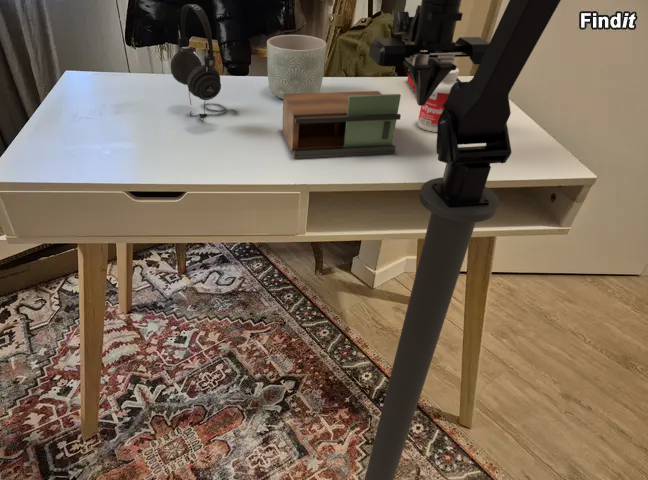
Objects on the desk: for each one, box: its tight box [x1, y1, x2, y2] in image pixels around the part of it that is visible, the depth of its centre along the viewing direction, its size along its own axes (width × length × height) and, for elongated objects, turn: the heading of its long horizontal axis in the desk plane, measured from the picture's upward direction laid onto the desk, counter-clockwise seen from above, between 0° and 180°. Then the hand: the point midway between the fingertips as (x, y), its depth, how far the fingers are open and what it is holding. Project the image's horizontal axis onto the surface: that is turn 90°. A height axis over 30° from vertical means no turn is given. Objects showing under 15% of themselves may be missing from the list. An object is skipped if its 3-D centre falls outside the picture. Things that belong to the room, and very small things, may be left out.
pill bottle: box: [417, 67, 460, 133], centre depth 95 cm, size 6×6×11 cm
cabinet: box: [281, 90, 402, 160], centre depth 89 cm, size 12×18×7 cm, turn 100°
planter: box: [266, 34, 327, 100], centre depth 107 cm, size 12×12×11 cm
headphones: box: [170, 3, 237, 122], centre depth 92 cm, size 15×11×20 cm
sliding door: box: [343, 93, 402, 147], centre depth 85 cm, size 1×9×9 cm, turn 100°
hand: (420, 104), depth 85 cm, fingers closed
